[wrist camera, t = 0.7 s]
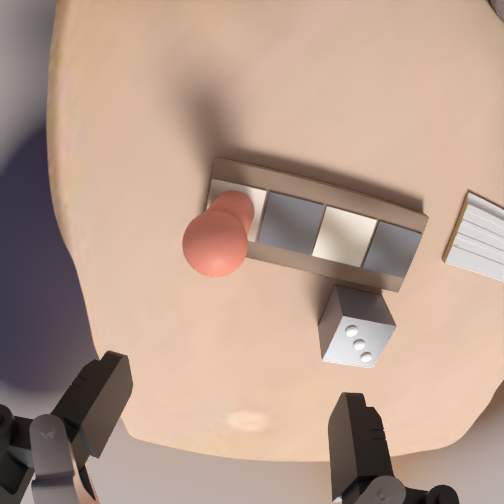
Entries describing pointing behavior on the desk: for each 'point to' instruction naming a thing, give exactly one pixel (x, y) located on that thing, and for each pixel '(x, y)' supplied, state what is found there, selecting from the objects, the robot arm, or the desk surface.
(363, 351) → the die
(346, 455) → the robot arm
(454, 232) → the baseboard
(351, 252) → the game strip
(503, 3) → the stone
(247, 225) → the pawn
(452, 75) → the desk surface
